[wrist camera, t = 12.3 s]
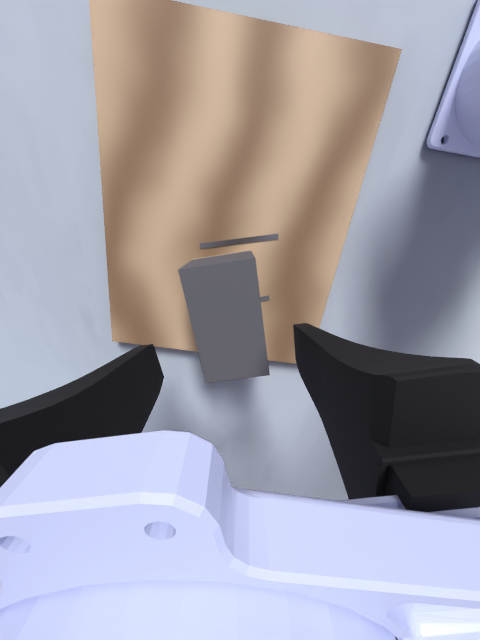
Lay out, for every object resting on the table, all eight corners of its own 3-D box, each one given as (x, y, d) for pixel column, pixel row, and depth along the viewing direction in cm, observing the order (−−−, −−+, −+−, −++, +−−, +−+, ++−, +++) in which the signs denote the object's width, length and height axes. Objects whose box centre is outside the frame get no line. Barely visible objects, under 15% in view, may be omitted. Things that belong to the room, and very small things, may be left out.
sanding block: (251, 250, 18) (255, 257, 13) (262, 341, 21) (269, 375, 16) (193, 259, 18) (177, 269, 13) (213, 348, 21) (206, 383, 16)
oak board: (389, 62, 15) (402, 48, 13) (304, 358, 23) (308, 365, 22) (100, 2, 14) (87, -19, 12) (118, 335, 22) (112, 341, 20)
